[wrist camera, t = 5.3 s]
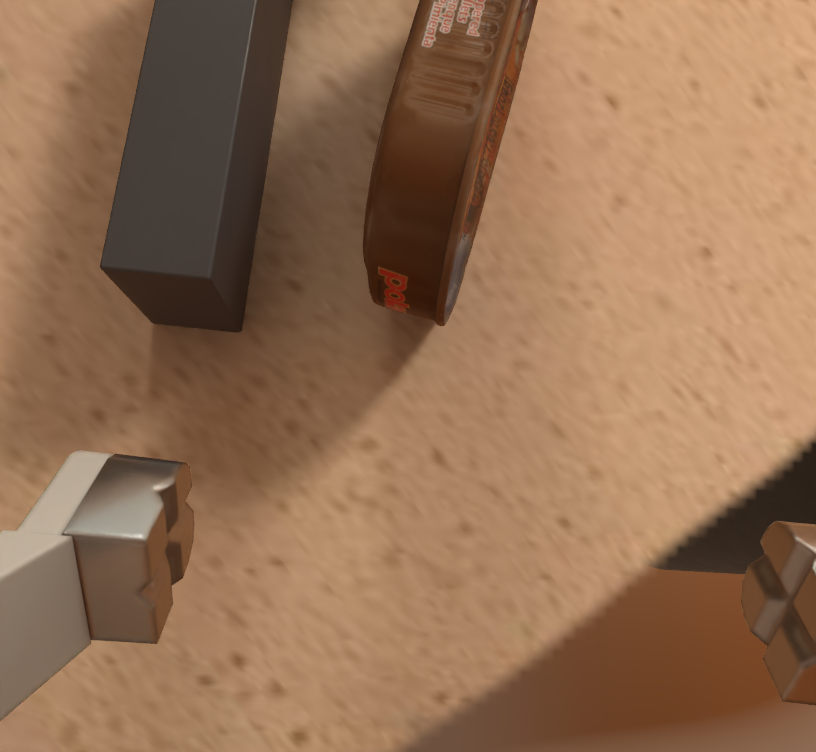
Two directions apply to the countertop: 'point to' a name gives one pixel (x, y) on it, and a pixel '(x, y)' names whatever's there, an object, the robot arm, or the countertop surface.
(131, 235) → the grey rectangular block
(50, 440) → the countertop surface
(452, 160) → the tin
